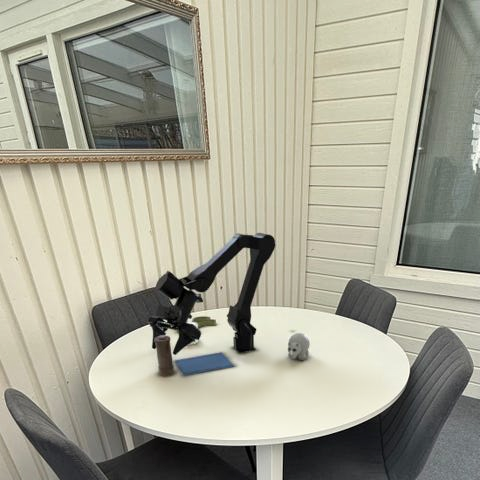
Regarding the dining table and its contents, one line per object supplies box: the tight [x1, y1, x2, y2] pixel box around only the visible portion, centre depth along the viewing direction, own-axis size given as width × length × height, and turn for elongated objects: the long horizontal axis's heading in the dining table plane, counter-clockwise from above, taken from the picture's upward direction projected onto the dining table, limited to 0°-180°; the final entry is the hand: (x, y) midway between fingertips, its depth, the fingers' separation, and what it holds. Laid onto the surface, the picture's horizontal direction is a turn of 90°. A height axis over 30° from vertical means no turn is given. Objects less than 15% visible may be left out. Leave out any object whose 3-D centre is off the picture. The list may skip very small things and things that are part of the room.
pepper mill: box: [154, 335, 175, 377], centre depth 131 cm, size 5×5×12 cm
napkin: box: [174, 352, 235, 377], centre depth 140 cm, size 17×13×1 cm
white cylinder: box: [187, 321, 199, 346], centre depth 156 cm, size 7×7×7 cm
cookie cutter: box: [176, 315, 217, 334], centre depth 172 cm, size 18×12×2 cm, turn 149°
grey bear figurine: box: [287, 332, 311, 361], centre depth 138 cm, size 7×12×8 cm, turn 152°
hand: (163, 351), depth 130 cm, fingers open, 9 cm apart
